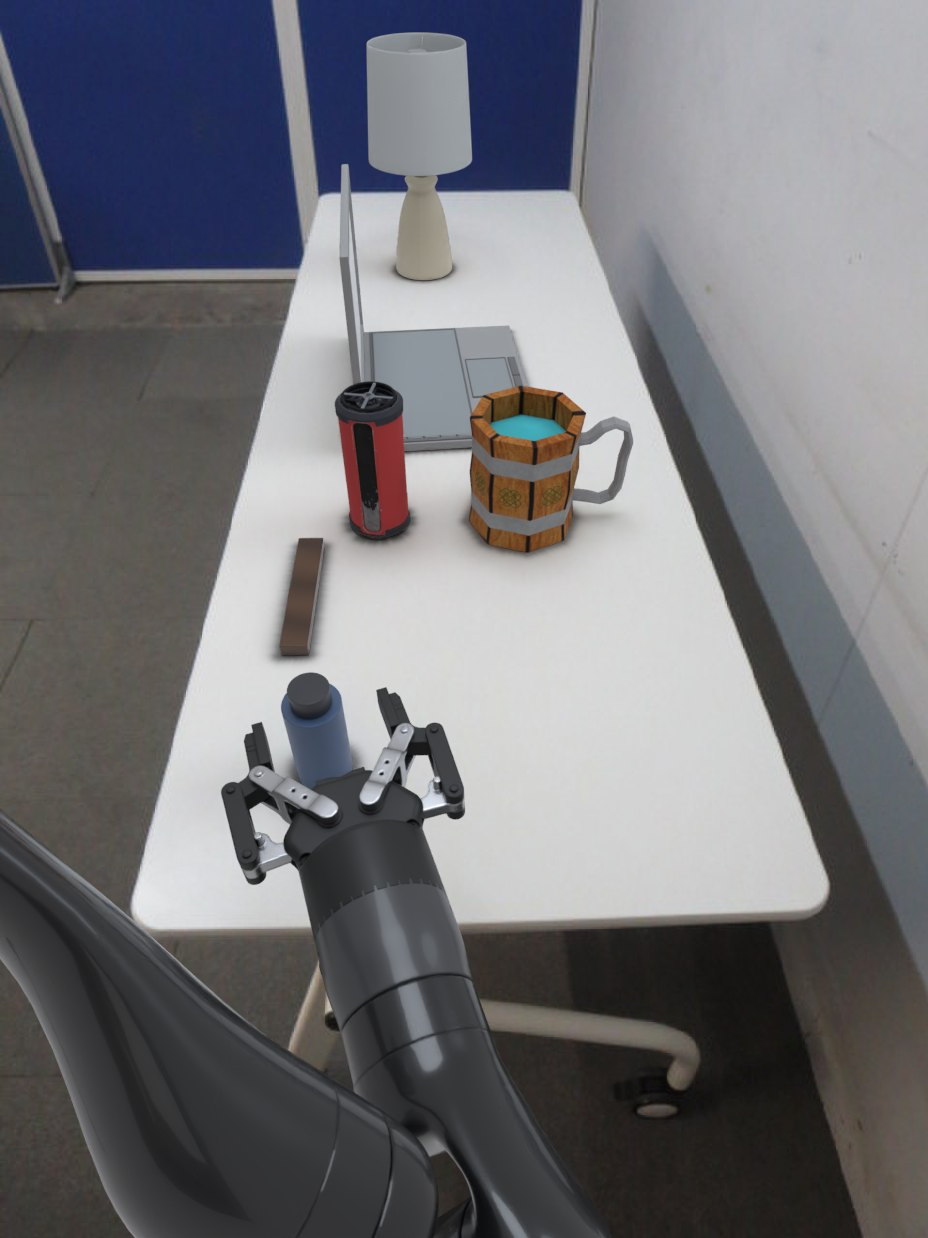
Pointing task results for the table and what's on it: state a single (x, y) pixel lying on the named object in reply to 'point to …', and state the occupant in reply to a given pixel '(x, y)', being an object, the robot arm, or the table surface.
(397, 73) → the lamp
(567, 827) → the table surface
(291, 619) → the walnut strip
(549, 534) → the mug
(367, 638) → the table surface
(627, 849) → the table surface
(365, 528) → the speaker
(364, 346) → the laptop
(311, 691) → the water bottle
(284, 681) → the table surface
